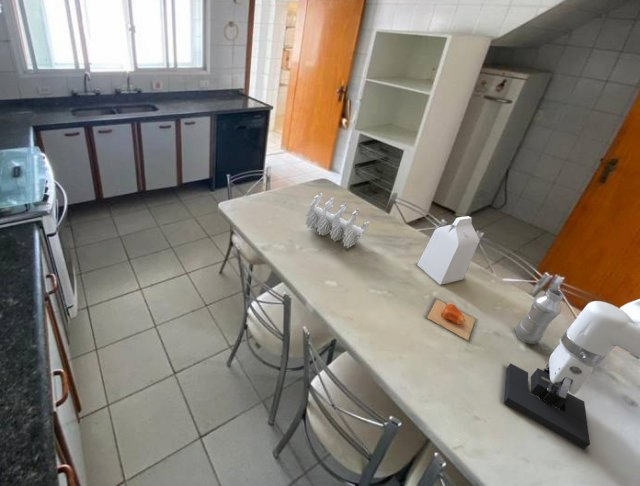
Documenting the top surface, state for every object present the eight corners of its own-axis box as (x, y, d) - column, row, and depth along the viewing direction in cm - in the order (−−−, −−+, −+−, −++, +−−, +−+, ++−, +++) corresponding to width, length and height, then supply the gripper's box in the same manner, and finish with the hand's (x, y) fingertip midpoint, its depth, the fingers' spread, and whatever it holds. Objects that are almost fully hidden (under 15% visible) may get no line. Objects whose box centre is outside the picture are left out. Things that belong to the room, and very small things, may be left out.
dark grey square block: (558, 391, 88) (566, 382, 86) (559, 408, 84) (568, 399, 82) (530, 376, 92) (537, 367, 90) (530, 392, 87) (538, 383, 85)
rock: (467, 340, 103) (473, 331, 101) (426, 318, 110) (431, 309, 109) (475, 319, 111) (480, 310, 109) (436, 299, 118) (440, 290, 117)
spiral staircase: (350, 260, 141) (301, 232, 155) (370, 231, 149) (321, 207, 162) (353, 237, 128) (299, 209, 142) (374, 207, 135) (321, 183, 149)
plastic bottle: (540, 340, 105) (573, 295, 96) (532, 350, 102) (566, 304, 93) (517, 326, 110) (546, 281, 101) (509, 335, 106) (539, 289, 97)
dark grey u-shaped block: (579, 406, 87) (584, 401, 86) (584, 449, 78) (590, 444, 77) (506, 368, 96) (510, 362, 94) (503, 403, 86) (507, 397, 85)
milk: (439, 260, 139) (462, 208, 127) (463, 279, 129) (490, 224, 117) (417, 265, 135) (439, 211, 123) (440, 284, 126) (466, 228, 114)
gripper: (609, 383, 71) (566, 428, 79) (598, 333, 83) (561, 377, 92) (564, 361, 75) (527, 406, 84) (560, 317, 87) (528, 360, 96)
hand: (545, 390), depth 88 cm, fingers closed on dark grey square block, 6 cm apart
